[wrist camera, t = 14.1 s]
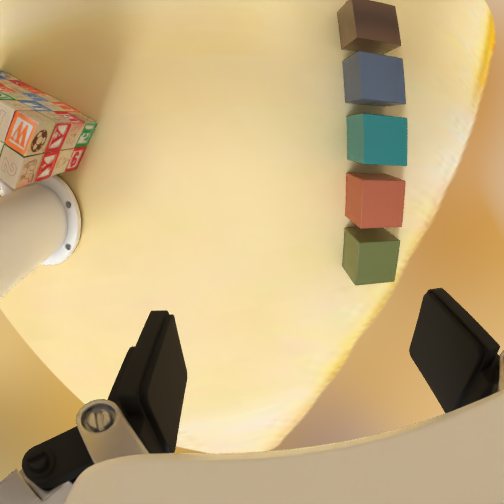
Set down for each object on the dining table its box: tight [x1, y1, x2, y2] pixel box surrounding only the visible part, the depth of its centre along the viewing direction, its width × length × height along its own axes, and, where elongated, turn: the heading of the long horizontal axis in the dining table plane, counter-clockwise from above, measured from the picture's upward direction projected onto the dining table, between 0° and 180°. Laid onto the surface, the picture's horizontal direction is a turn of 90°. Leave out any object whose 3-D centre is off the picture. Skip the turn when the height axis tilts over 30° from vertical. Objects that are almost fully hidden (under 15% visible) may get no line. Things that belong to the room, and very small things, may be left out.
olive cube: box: [342, 228, 400, 285], centre depth 33 cm, size 5×5×5 cm
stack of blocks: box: [0, 70, 97, 189], centre depth 21 cm, size 21×6×12 cm, turn 56°
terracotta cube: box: [345, 173, 405, 229], centre depth 31 cm, size 5×5×5 cm
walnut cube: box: [337, 0, 401, 55], centre depth 23 cm, size 5×5×5 cm
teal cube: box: [347, 114, 407, 166], centre depth 28 cm, size 5×5×5 cm
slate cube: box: [343, 51, 406, 106], centre depth 26 cm, size 5×5×5 cm
